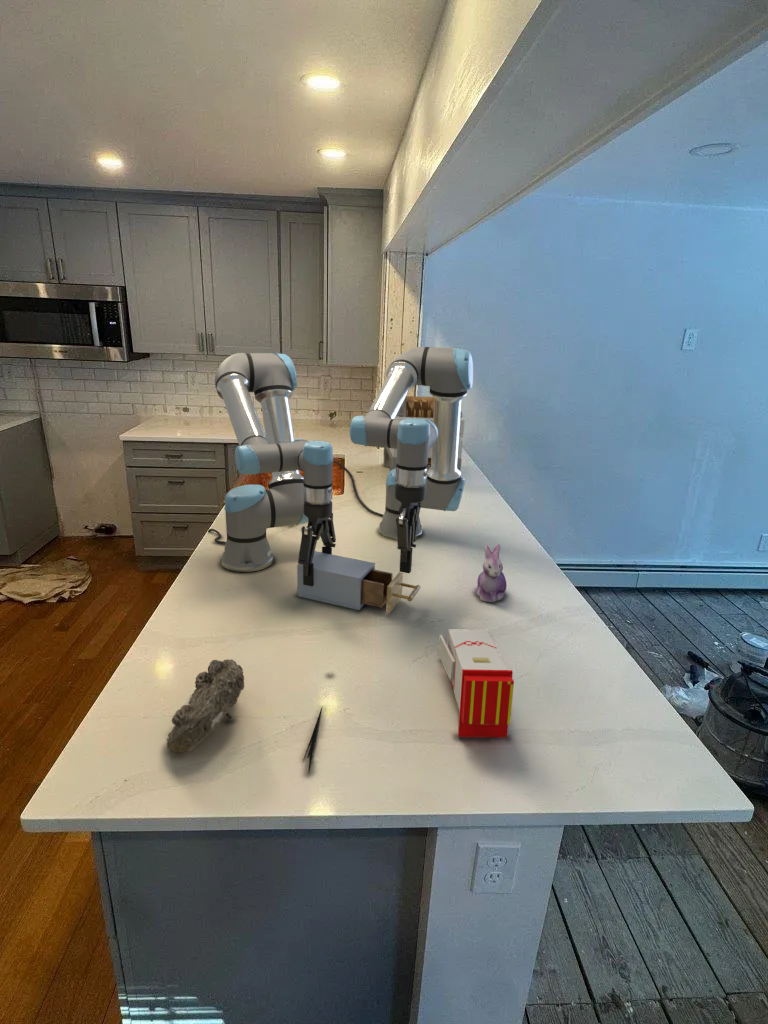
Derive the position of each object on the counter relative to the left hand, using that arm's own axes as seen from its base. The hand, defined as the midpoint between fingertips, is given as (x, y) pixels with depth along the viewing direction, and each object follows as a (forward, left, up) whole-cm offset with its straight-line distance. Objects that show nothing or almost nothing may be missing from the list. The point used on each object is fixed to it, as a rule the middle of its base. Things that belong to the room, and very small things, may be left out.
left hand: (317, 576), depth 156 cm
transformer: (-39, +123, -4) cm, 129 cm away
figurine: (+40, +28, -4) cm, 49 cm away
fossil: (+17, -52, -4) cm, 55 cm away
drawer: (+17, +4, -3) cm, 18 cm away
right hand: (+24, +6, +7) cm, 26 cm away
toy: (+54, -15, -4) cm, 56 cm away
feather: (+34, -40, -4) cm, 53 cm away
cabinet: (+5, +1, -4) cm, 7 cm away
